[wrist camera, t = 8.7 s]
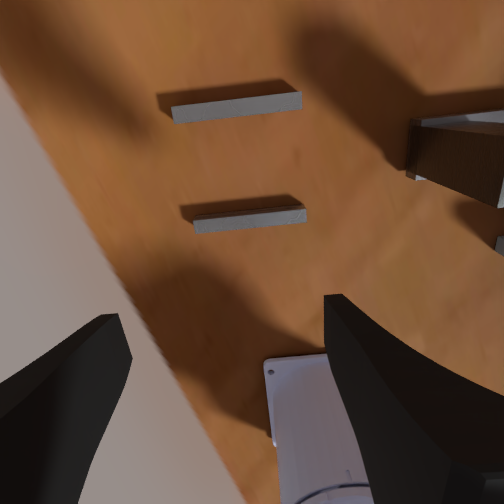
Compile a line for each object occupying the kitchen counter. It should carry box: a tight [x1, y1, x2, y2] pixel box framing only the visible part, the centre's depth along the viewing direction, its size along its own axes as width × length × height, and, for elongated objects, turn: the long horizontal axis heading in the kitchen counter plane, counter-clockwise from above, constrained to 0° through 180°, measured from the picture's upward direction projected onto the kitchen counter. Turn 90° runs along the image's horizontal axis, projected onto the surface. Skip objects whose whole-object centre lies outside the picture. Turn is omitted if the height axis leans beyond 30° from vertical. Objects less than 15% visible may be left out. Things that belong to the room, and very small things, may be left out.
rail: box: [171, 91, 307, 234], centre depth 18 cm, size 7×6×1 cm
